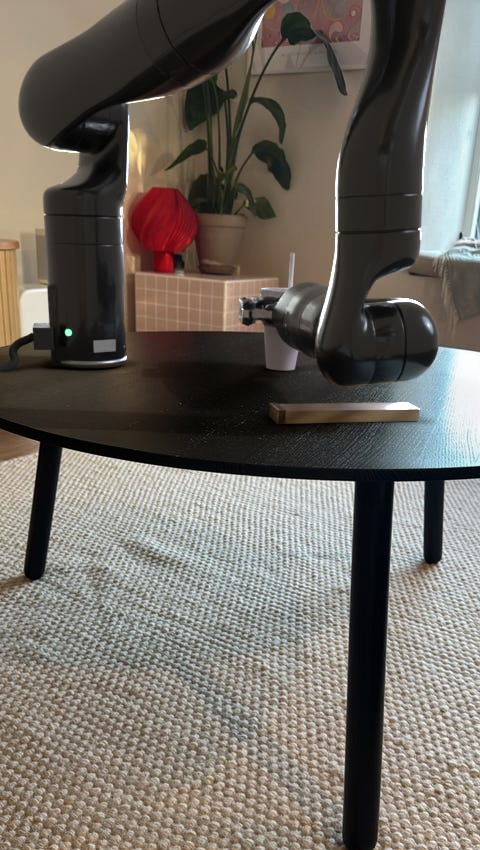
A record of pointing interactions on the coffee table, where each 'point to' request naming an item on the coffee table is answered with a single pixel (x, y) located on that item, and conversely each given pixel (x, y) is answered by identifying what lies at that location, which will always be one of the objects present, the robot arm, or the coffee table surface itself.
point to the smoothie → (275, 347)
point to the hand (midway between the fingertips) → (278, 305)
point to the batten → (343, 412)
